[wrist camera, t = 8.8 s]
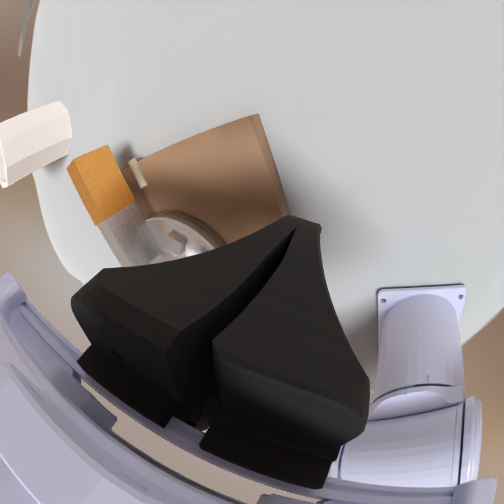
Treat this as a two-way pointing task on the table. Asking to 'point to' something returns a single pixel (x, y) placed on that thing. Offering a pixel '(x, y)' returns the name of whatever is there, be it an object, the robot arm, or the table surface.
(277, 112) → the table surface
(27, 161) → the mug
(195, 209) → the base plate
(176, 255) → the silver orange handled piece
